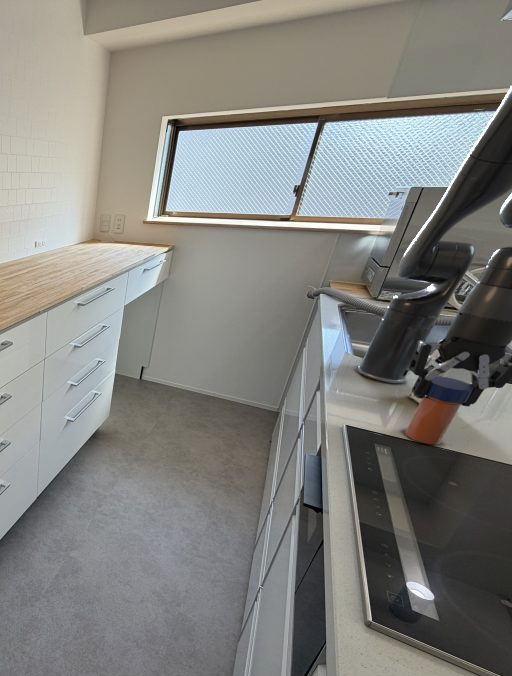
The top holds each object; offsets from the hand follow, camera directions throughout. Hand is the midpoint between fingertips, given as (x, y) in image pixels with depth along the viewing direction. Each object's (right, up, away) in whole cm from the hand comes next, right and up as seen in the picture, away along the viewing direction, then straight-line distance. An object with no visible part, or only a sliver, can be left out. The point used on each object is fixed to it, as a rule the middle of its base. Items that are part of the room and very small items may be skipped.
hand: (440, 400), depth 76 cm
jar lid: (0, +3, -1) cm, 3 cm away
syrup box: (+15, -2, +17) cm, 23 cm away
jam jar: (0, -7, +4) cm, 8 cm away
